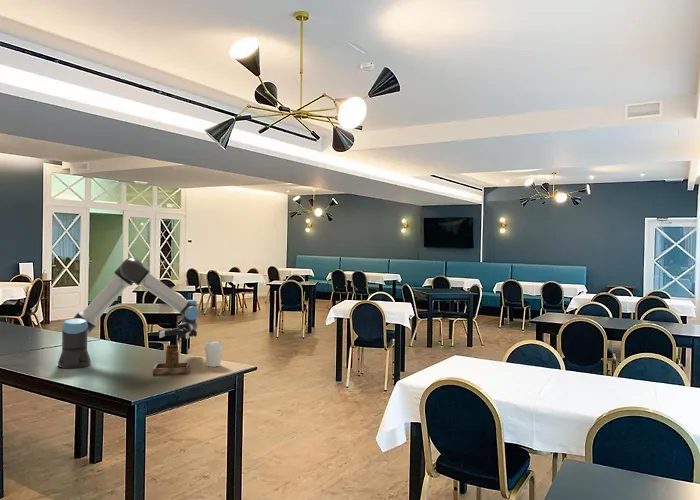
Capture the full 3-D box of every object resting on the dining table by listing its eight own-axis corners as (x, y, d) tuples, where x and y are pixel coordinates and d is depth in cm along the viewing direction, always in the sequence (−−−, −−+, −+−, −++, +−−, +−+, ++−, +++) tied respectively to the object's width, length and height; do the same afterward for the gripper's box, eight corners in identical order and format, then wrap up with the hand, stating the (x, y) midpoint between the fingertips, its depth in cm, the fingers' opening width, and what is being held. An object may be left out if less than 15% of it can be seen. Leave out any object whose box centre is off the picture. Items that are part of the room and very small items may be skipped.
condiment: (178, 367, 279) (178, 344, 279) (180, 371, 272) (181, 346, 272) (163, 368, 276) (163, 344, 276) (165, 372, 268) (165, 347, 268)
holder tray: (152, 375, 266) (152, 368, 266) (156, 369, 279) (156, 363, 278) (187, 374, 269) (187, 367, 269) (189, 368, 282) (189, 362, 282)
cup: (219, 367, 284) (220, 344, 284) (202, 367, 284) (202, 344, 284) (224, 364, 293) (224, 341, 293) (207, 363, 293) (207, 341, 293)
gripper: (206, 337, 307) (197, 343, 286) (161, 335, 307) (148, 342, 285) (207, 323, 307) (197, 329, 286) (162, 322, 307) (149, 327, 285)
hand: (173, 335), depth 286 cm, fingers open, 13 cm apart
